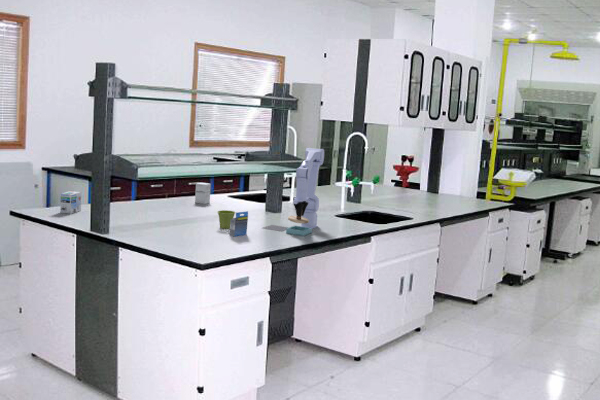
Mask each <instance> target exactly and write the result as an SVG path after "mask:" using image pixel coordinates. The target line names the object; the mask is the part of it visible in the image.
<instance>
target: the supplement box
mask: <svg viewBox="0 0 600 400" xmlns="http://www.w3.org/2000/svg"><path fill="white" fill-rule="evenodd" d="M211 185H212V184H211V183H208V182H197V183H196V182H195V194H194V195H195V197H194V203H196V204H202V205H207V204H209V203H210V202H211Z"/></svg>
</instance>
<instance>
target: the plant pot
mask: <svg viewBox="0 0 600 400" xmlns="http://www.w3.org/2000/svg"><path fill="white" fill-rule="evenodd" d="M217 214H218V215H217V216H218V221H219V228H220V229H224V230H230V221H231V219H233V218H235V215H236V212H235V211H234V210H229V209H228V210H225V209H224V210H223V209H222V210H217Z"/></svg>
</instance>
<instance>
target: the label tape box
mask: <svg viewBox="0 0 600 400" xmlns="http://www.w3.org/2000/svg"><path fill="white" fill-rule="evenodd" d="M248 221H249V211H248V210H247V211H239V212H235V217H233V219H231V221H230V228H229V236H231V237H238V236H240V237H241V236H245V235H247V232H248Z"/></svg>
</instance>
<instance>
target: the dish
mask: <svg viewBox="0 0 600 400" xmlns="http://www.w3.org/2000/svg"><path fill="white" fill-rule="evenodd" d="M312 231H313V229H312V228H307V227H301V225H293V226H289V227H288V228H286V230H285V233H286V234H287V235H293V236H300V237H306V236H310V235H311V234H312Z"/></svg>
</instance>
